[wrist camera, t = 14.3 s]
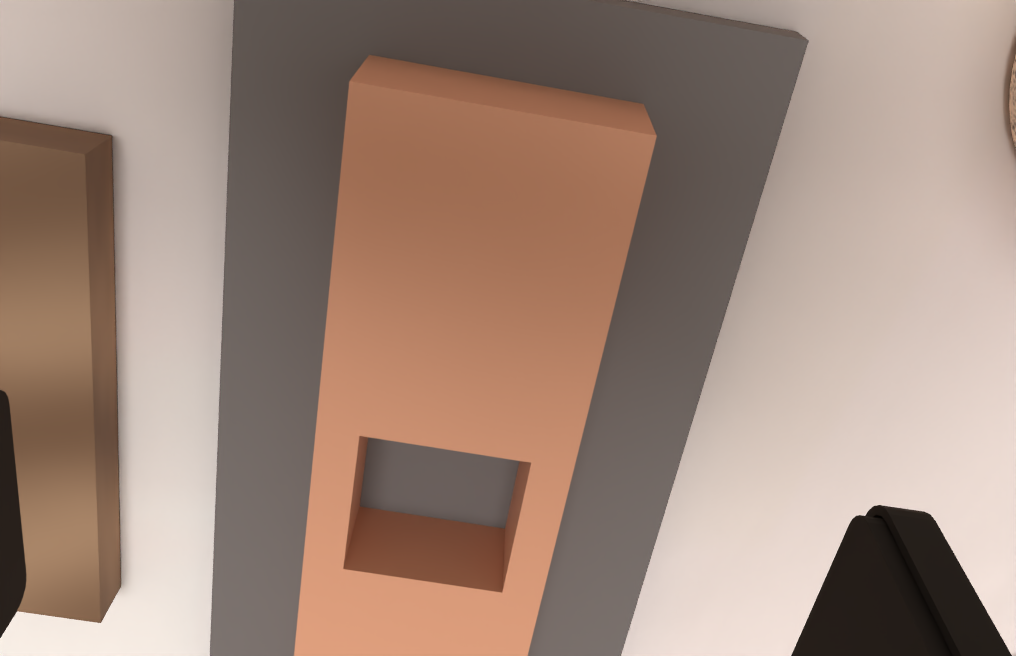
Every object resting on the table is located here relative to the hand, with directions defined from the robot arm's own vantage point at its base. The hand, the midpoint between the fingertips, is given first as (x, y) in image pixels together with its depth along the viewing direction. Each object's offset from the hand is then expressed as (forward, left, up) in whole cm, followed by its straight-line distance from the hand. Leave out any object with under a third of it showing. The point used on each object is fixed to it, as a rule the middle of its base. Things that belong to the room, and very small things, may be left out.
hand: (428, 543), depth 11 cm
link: (+8, 0, -12) cm, 15 cm away
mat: (+8, 0, -13) cm, 15 cm away
